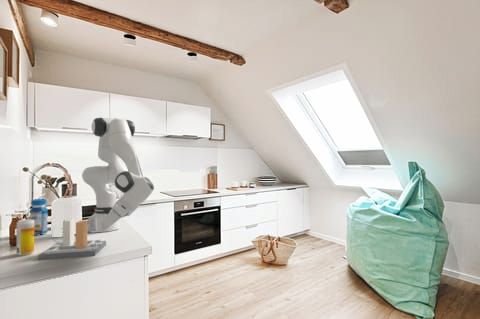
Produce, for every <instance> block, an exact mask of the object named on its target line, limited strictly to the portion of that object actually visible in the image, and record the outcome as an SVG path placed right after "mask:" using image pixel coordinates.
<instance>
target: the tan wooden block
mask: <svg viewBox="0 0 480 319" xmlns="http://www.w3.org/2000/svg"><path fill="white" fill-rule="evenodd" d="M87 221H88V219H85V220H78V221H77V222H75V241H76V249H81V248H85V247H86V246H87V240H88V231H87Z"/></svg>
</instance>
